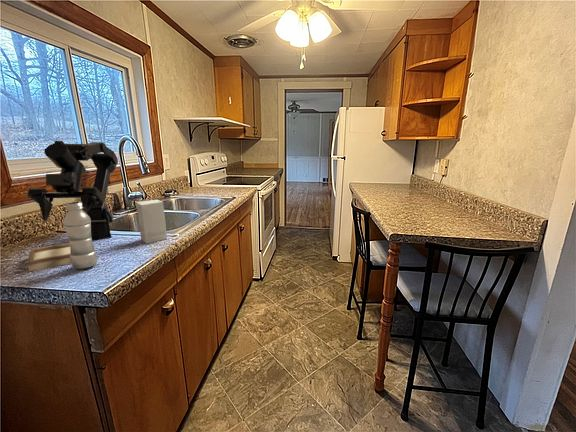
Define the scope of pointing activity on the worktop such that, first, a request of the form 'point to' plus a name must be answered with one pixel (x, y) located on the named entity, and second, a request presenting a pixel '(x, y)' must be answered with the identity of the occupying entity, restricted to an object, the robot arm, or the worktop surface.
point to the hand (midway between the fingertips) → (62, 219)
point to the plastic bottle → (79, 236)
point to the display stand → (49, 257)
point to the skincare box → (151, 221)
